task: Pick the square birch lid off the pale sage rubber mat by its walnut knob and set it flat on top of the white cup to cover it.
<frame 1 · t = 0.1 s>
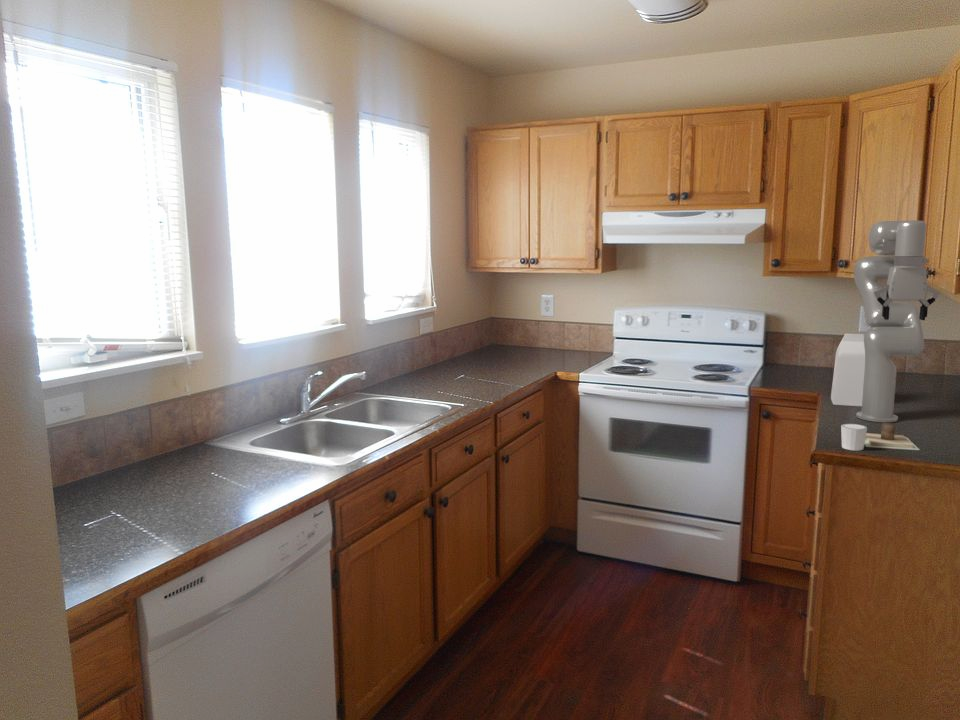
hand: (903, 319, 216), 37 cm above the counter, tool pointing down, fingers open, 9 cm apart
lid: (887, 441, 215), resting on mat
mat: (887, 443, 215), on the counter
milk: (849, 402, 270), on the counter
white cup: (852, 450, 210), on the counter
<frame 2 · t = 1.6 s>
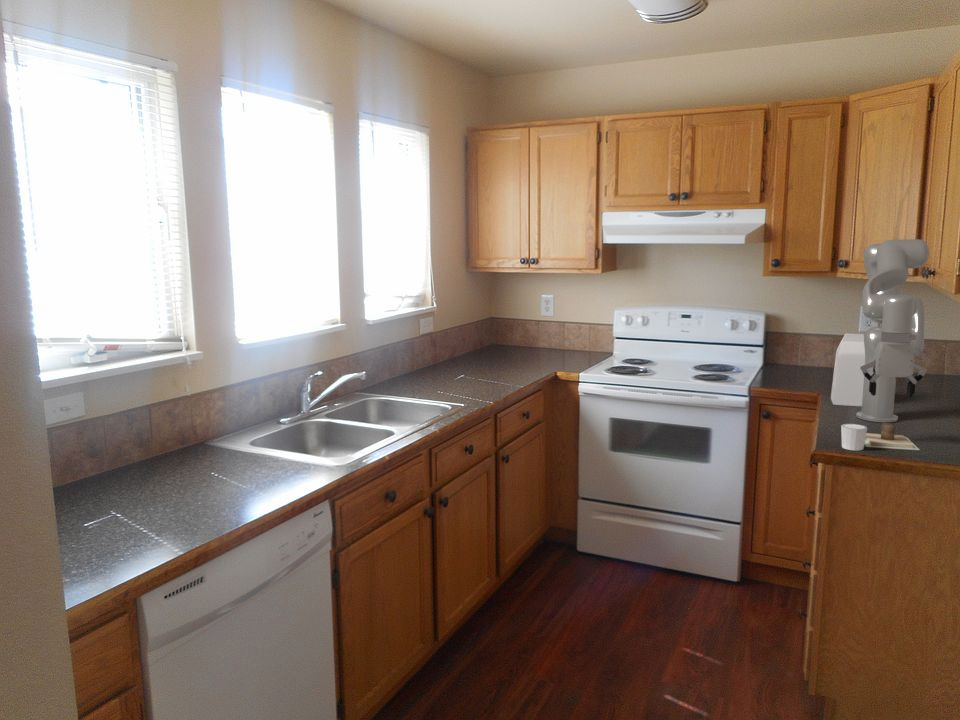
hand: (891, 395, 212), 15 cm above the counter, tool pointing down, fingers open, 9 cm apart
nothing on the counter moved.
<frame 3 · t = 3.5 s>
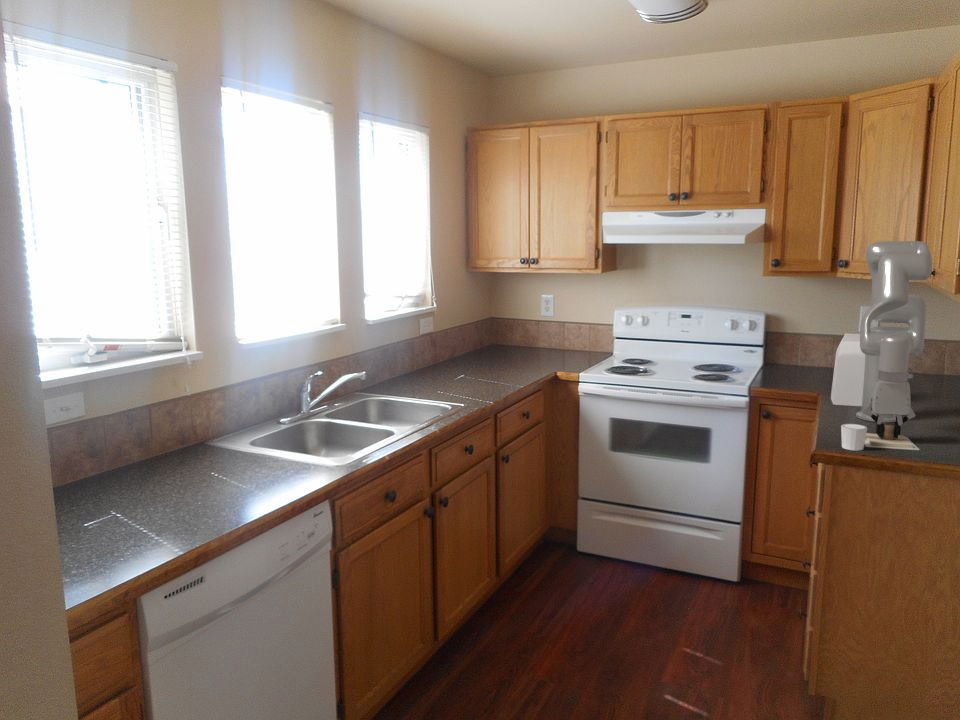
hand: (887, 436, 215), 2 cm above the counter, tool pointing down, fingers closed on lid, 3 cm apart
lid: (887, 441, 215), resting on mat, touching gripper
everything else where it was.
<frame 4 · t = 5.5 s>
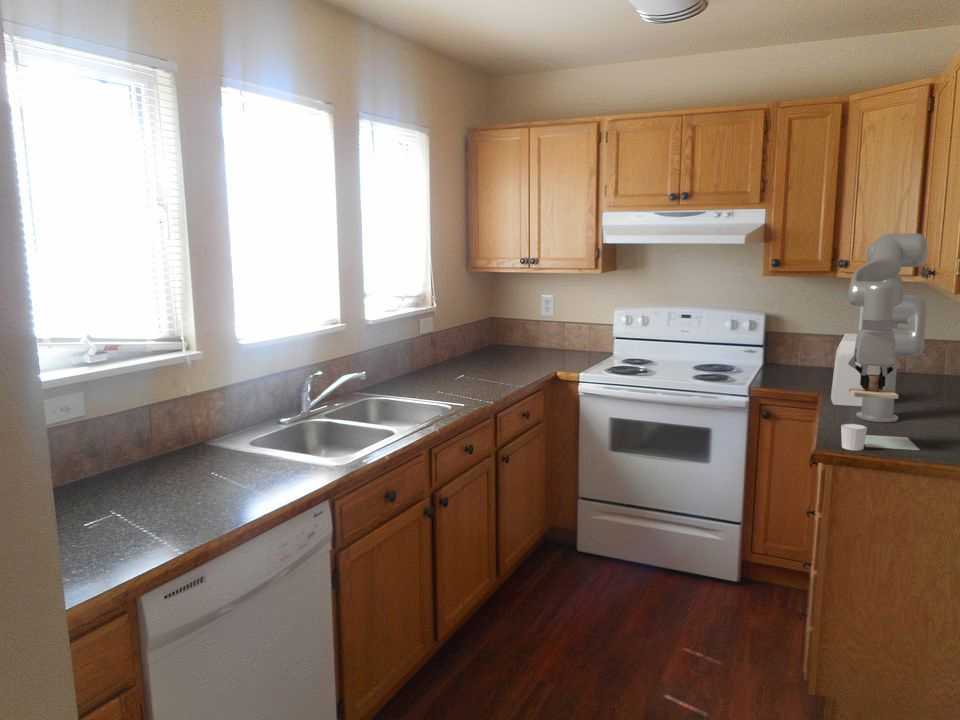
hand: (872, 388, 209), 18 cm above the counter, tool pointing down, fingers closed on lid, 3 cm apart
lid: (871, 394, 209), point 16 cm above the counter, touching gripper
everything else where it was.
when the fingers open (10 cm above the counter, at t = 7.6 s): lid stays where it is, resting on white cup.
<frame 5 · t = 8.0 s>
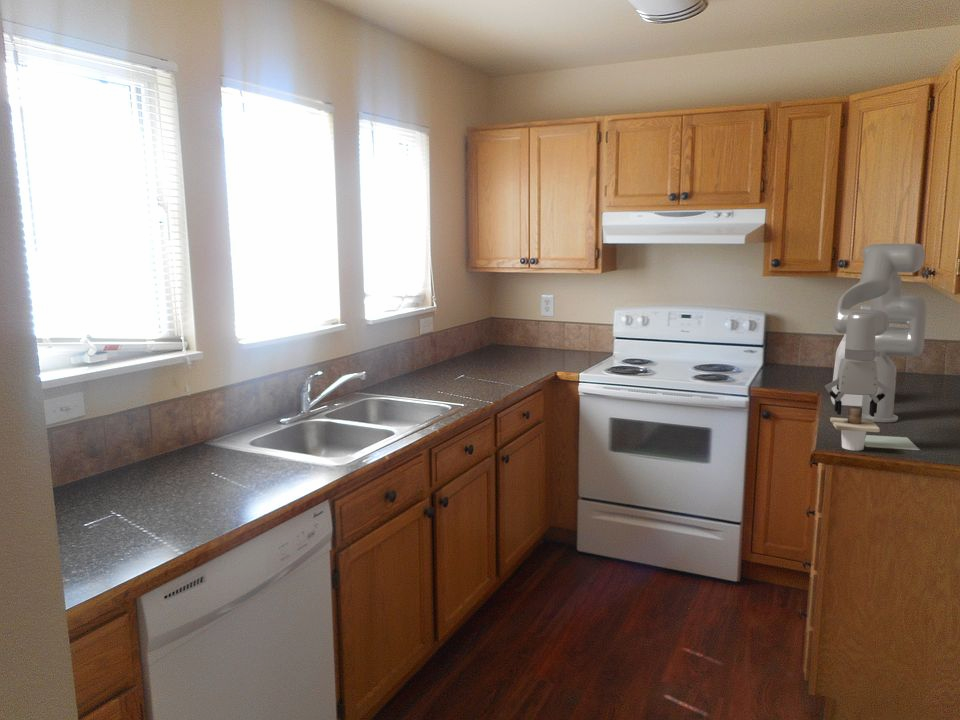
hand: (855, 414, 208), 11 cm above the counter, tool pointing down, fingers open, 8 cm apart
lid: (854, 426, 209), point 7 cm above the counter, touching white cup
white cup: (852, 450, 210), on the counter, touching lid
everything else where it was.
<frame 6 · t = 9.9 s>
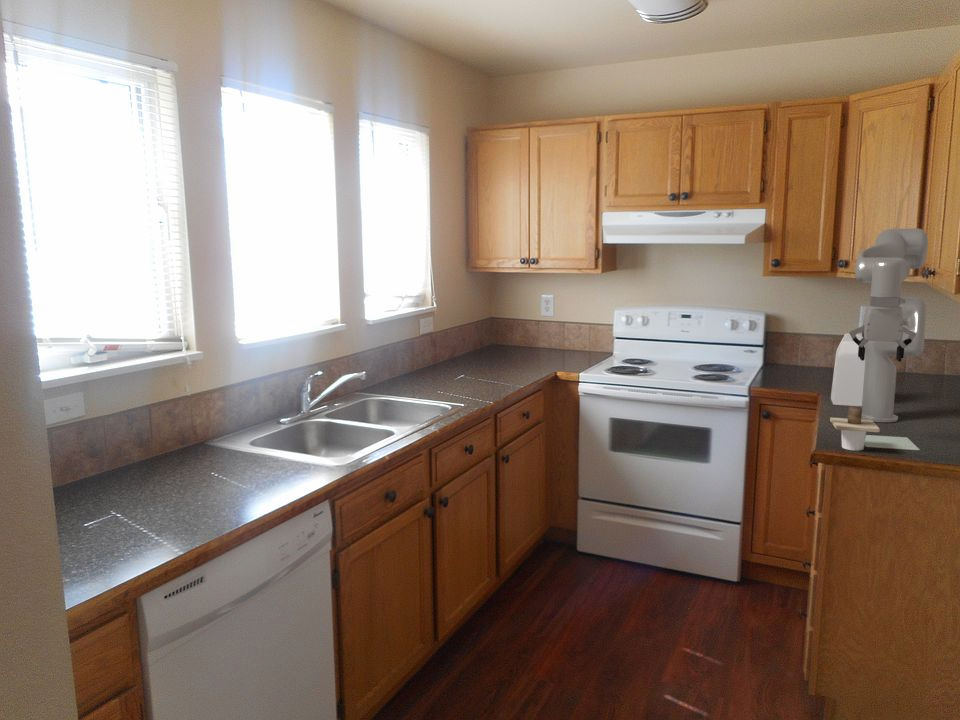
hand: (880, 360, 211), 25 cm above the counter, tool pointing down, fingers open, 9 cm apart
nothing on the counter moved.
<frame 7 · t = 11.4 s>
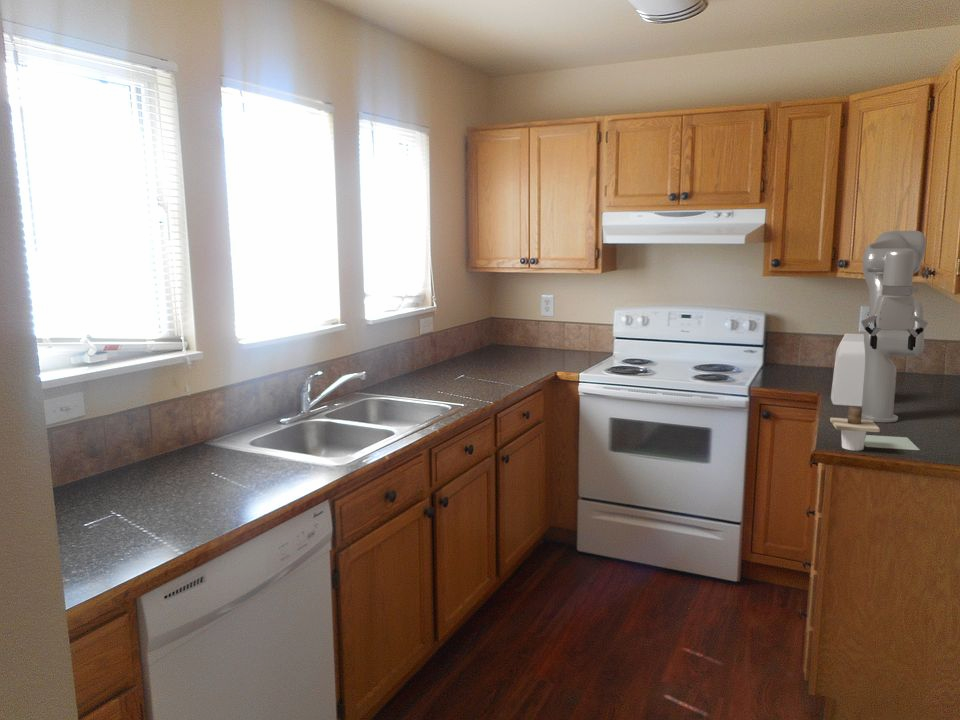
hand: (891, 349, 213), 28 cm above the counter, tool pointing down, fingers open, 9 cm apart
nothing on the counter moved.
at the end: lid 0.0 cm off-centre on the white cup, point 7.2 cm above the white cup's base; lid tilted 0°; white cup tilted 0° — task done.
